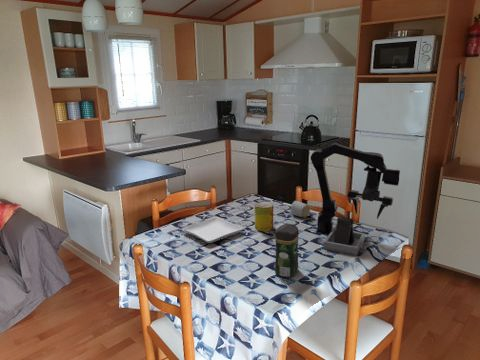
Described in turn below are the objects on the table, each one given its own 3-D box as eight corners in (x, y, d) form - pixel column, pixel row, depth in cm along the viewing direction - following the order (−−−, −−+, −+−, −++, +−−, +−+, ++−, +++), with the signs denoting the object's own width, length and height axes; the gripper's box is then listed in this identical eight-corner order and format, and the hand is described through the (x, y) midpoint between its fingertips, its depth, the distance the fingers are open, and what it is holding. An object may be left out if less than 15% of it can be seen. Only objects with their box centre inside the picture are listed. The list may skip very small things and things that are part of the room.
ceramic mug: (302, 219, 193) (303, 205, 191) (289, 216, 199) (290, 202, 197) (314, 214, 201) (314, 201, 199) (301, 211, 206) (301, 198, 204)
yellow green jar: (270, 232, 179) (270, 208, 176) (252, 230, 182) (252, 206, 179) (275, 225, 187) (275, 202, 184) (258, 223, 190) (257, 201, 187)
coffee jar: (281, 264, 148) (281, 220, 143) (300, 268, 144) (301, 223, 139) (271, 275, 139) (271, 229, 134) (292, 280, 136) (292, 233, 131)
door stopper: (346, 249, 157) (347, 222, 154) (333, 245, 161) (334, 219, 157) (354, 241, 164) (356, 216, 161) (341, 238, 167) (342, 213, 164)
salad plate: (208, 247, 164) (208, 240, 164) (182, 234, 180) (181, 227, 179) (244, 234, 178) (244, 227, 177) (216, 222, 193) (216, 216, 192)
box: (323, 249, 160) (323, 241, 159) (333, 235, 173) (333, 228, 172) (356, 255, 153) (357, 247, 152) (364, 241, 167) (364, 233, 166)
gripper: (347, 180, 161) (341, 214, 164) (393, 188, 153) (386, 224, 156) (352, 177, 171) (347, 210, 174) (396, 185, 163) (389, 219, 165)
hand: (366, 216), depth 167 cm, fingers open, 9 cm apart
